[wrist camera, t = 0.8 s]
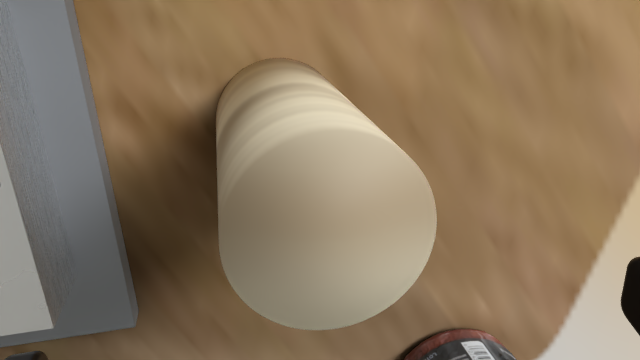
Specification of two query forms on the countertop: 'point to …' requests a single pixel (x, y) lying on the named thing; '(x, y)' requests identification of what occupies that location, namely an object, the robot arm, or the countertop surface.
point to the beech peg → (314, 201)
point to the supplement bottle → (460, 347)
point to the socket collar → (27, 206)
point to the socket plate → (75, 172)
